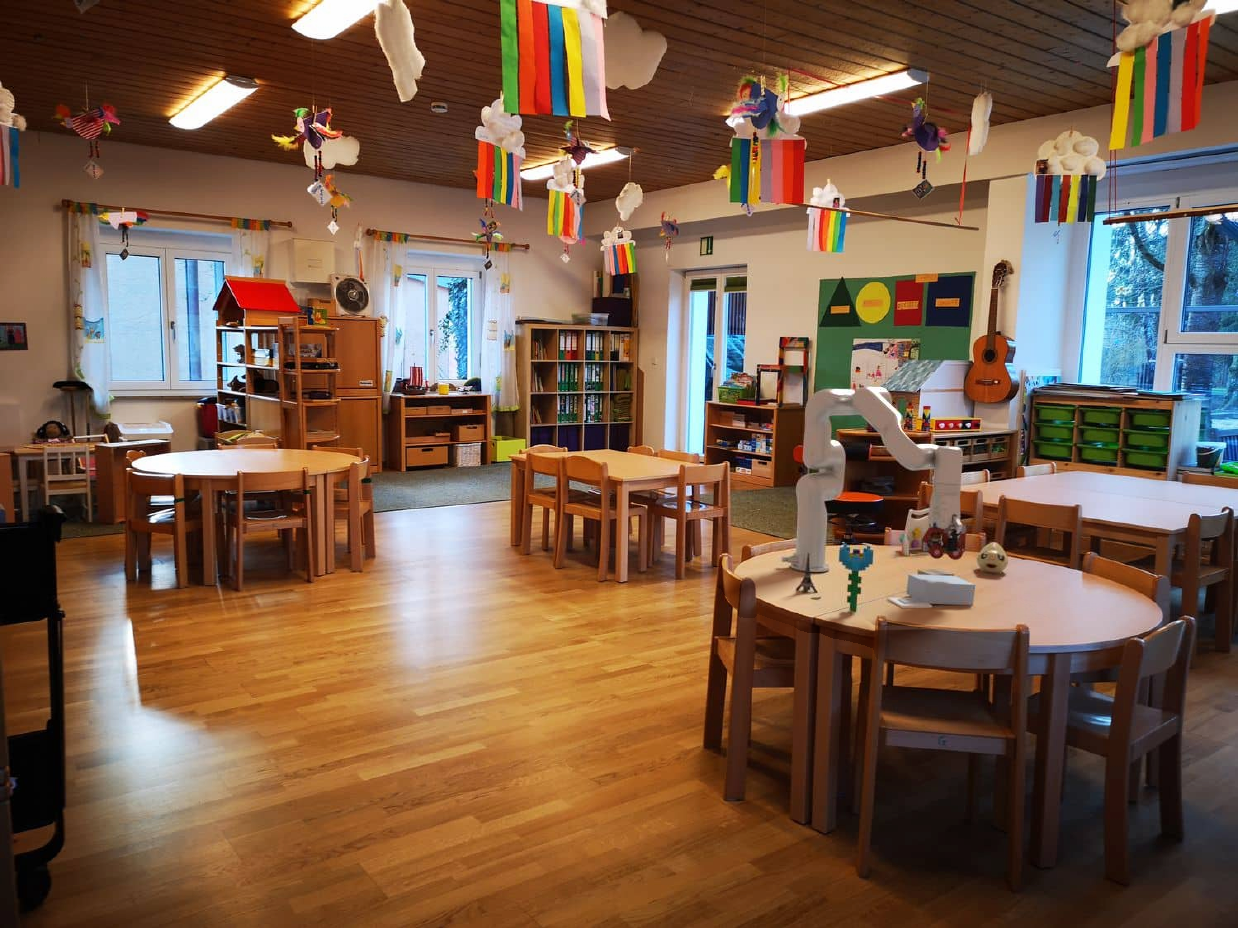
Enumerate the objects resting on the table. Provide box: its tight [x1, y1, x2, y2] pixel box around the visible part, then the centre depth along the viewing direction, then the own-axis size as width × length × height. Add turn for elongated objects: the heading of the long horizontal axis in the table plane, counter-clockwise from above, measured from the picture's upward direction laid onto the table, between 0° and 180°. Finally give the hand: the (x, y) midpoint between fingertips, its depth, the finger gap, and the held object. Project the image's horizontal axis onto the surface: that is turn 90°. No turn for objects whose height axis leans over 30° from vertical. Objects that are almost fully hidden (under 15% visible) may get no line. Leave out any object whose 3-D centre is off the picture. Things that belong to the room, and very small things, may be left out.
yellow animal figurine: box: [976, 541, 1009, 574], centre depth 295 cm, size 10×12×11 cm
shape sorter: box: [898, 507, 943, 556], centre depth 322 cm, size 20×10×18 cm, turn 112°
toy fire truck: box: [920, 522, 969, 561], centre depth 256 cm, size 7×12×10 cm, turn 79°
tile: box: [887, 597, 933, 609], centre depth 253 cm, size 9×9×1 cm
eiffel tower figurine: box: [795, 552, 822, 600], centre depth 263 cm, size 15×10×13 cm
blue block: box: [906, 573, 976, 606], centre depth 258 cm, size 15×11×6 cm
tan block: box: [917, 568, 955, 576], centre depth 270 cm, size 8×7×6 cm
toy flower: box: [838, 543, 874, 612], centre depth 244 cm, size 9×9×18 cm
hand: (943, 547), depth 256 cm, fingers closed on toy fire truck, 8 cm apart
